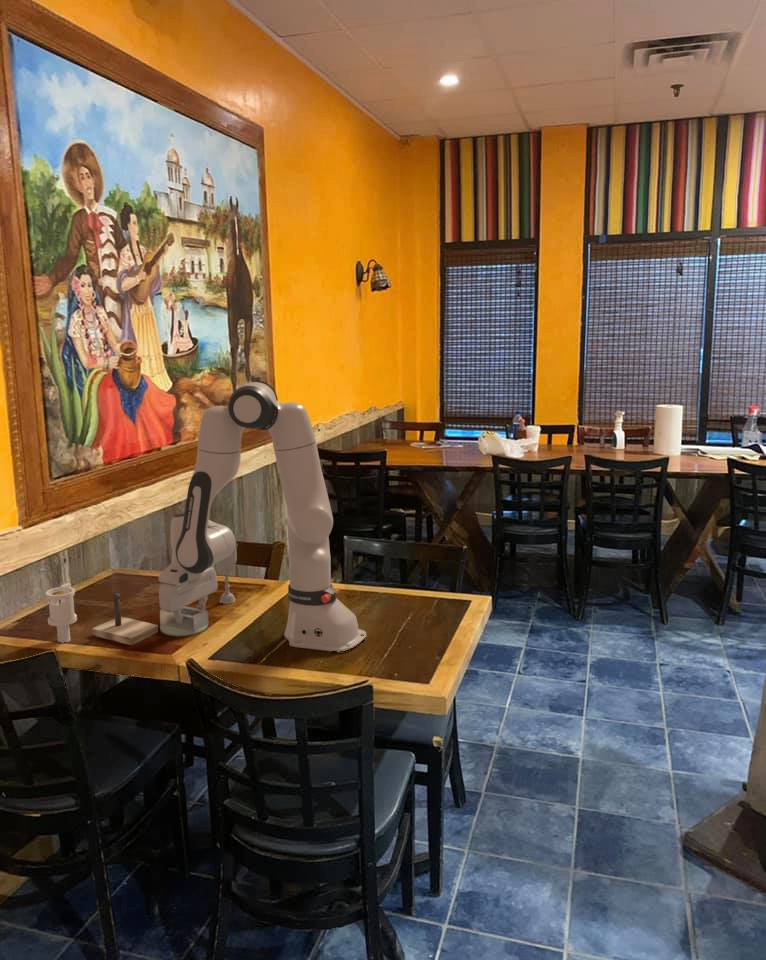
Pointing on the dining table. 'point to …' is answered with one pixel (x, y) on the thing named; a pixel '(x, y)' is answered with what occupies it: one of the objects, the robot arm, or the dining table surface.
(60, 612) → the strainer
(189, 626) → the grey hollow block
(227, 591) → the chalice
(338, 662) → the dining table surface
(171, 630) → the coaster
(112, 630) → the stand
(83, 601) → the dining table surface
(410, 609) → the dining table surface
